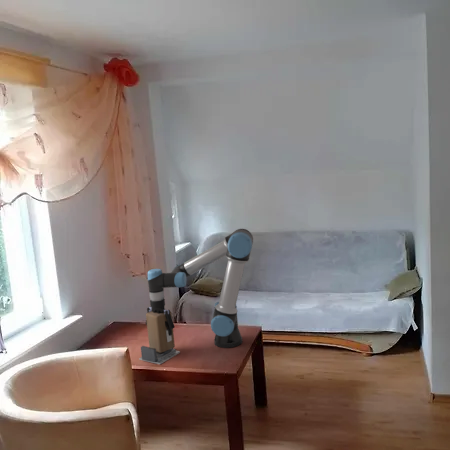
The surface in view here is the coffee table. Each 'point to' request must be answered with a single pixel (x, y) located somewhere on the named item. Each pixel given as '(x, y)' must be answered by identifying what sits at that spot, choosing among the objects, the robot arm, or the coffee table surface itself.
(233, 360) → the coffee table surface
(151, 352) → the grey l-shaped piece
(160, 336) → the block
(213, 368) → the coffee table surface
